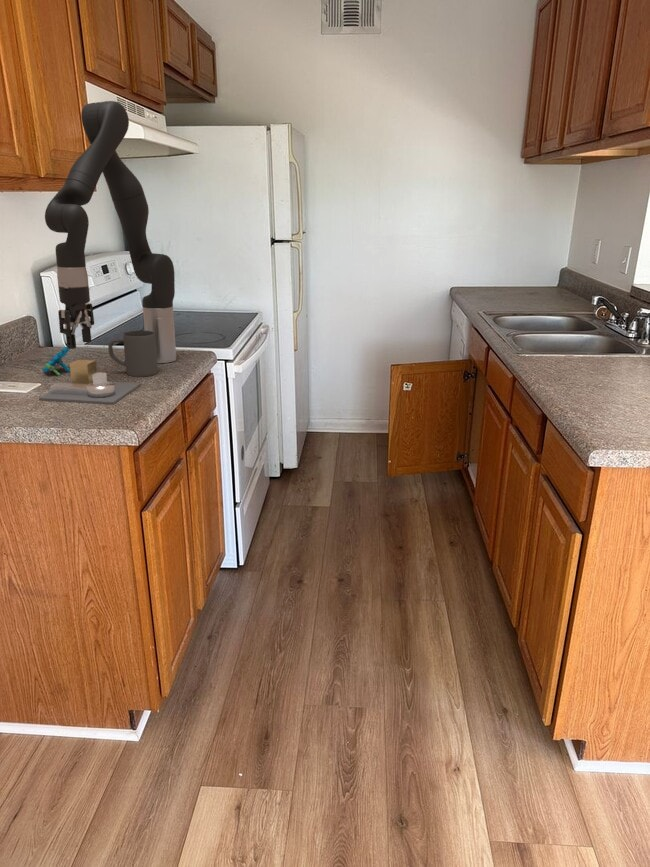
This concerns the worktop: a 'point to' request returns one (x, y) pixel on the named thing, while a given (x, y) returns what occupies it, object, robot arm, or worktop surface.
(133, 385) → the mat
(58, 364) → the blue toy piece
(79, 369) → the wooden toy cube
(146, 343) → the mug
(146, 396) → the worktop surface
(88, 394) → the ratchet
